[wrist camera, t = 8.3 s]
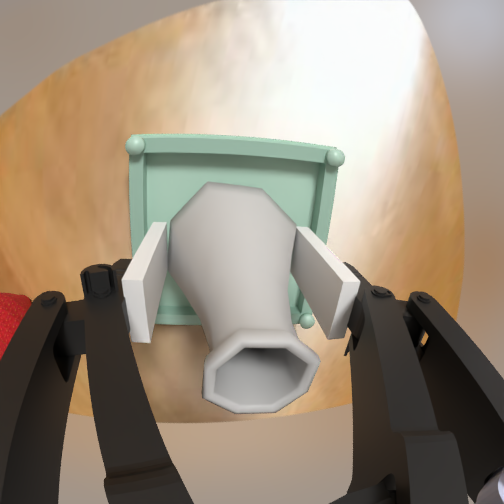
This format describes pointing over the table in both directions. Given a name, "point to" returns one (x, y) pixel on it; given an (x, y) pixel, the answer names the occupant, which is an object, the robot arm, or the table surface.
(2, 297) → the strawberry
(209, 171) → the base board
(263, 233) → the flask
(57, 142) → the table surface
